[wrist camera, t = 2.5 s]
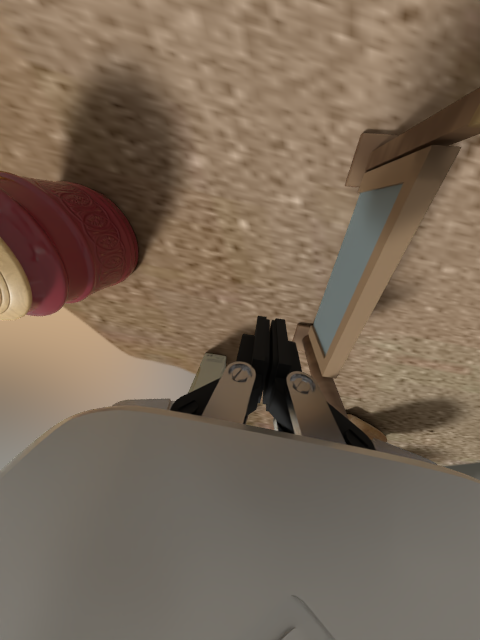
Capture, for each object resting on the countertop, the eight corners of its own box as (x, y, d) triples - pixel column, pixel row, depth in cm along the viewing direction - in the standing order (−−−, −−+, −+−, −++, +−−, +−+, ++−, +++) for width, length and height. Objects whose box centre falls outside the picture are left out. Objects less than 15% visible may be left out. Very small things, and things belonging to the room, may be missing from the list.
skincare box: (204, 351, 35) (178, 410, 25) (226, 355, 35) (208, 416, 24) (205, 374, 38) (182, 434, 28) (225, 377, 38) (209, 439, 28)
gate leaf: (318, 334, 28) (336, 378, 21) (308, 333, 28) (322, 376, 21) (380, 174, 18) (461, 146, 10) (364, 173, 18) (432, 145, 11)
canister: (146, 287, 29) (20, 365, 14) (73, 274, 30) (-123, 335, 15) (132, 191, 23) (-137, 148, 8) (37, 176, 23) (-387, 109, 8)
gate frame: (319, 351, 31) (350, 437, 19) (290, 347, 32) (304, 428, 20) (409, 138, 17) (733, -35, 5) (355, 134, 17) (543, -36, 6)
